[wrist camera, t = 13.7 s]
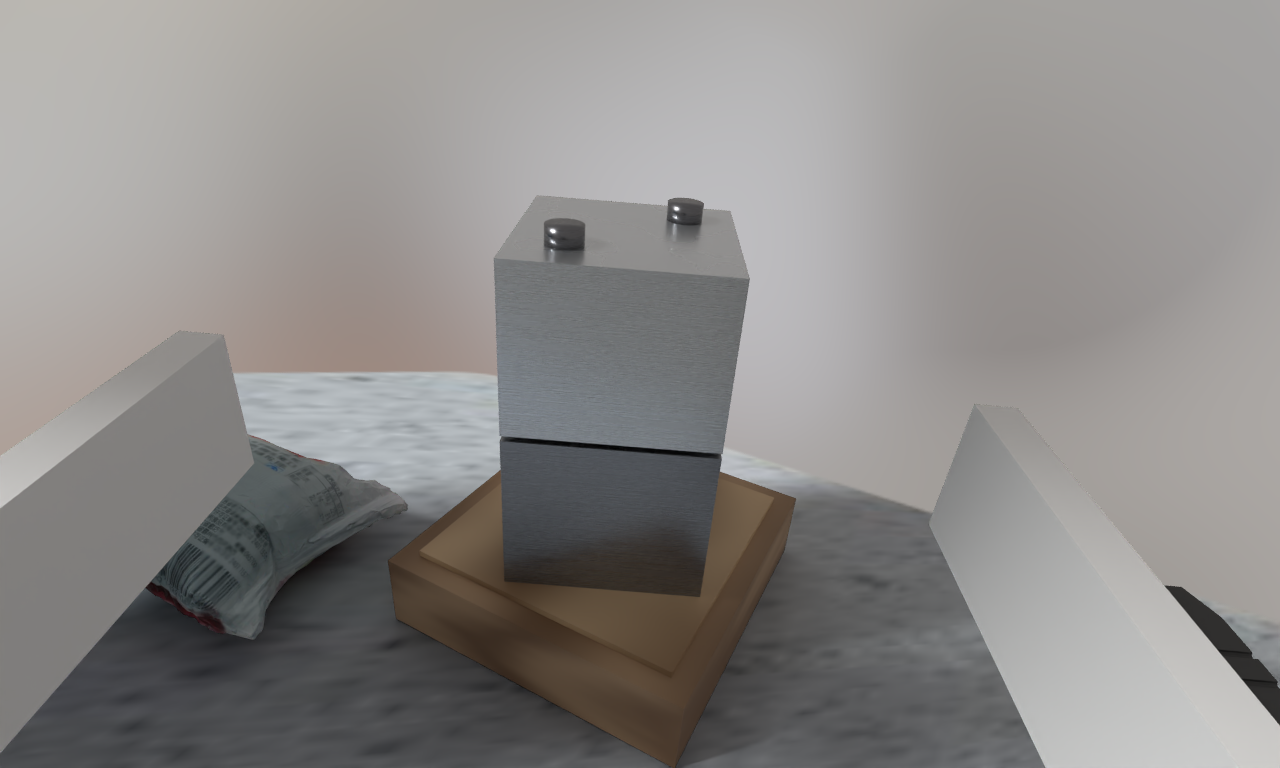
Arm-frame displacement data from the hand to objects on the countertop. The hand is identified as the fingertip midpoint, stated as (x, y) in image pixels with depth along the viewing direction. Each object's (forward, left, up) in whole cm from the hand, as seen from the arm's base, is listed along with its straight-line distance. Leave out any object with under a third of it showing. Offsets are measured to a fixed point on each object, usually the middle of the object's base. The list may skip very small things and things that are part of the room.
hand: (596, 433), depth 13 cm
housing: (-5, +10, -12) cm, 16 cm away
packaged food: (-19, +4, -15) cm, 25 cm away
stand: (-5, +10, -15) cm, 19 cm away
